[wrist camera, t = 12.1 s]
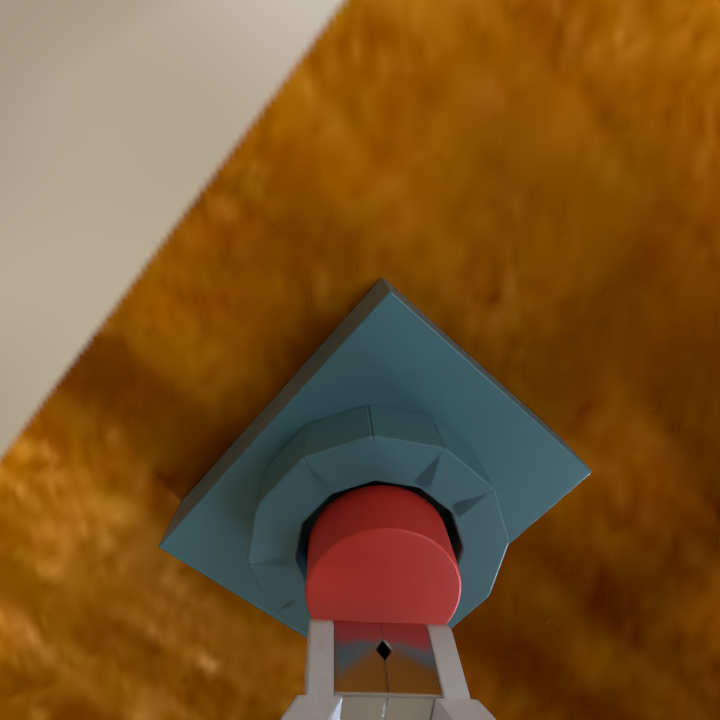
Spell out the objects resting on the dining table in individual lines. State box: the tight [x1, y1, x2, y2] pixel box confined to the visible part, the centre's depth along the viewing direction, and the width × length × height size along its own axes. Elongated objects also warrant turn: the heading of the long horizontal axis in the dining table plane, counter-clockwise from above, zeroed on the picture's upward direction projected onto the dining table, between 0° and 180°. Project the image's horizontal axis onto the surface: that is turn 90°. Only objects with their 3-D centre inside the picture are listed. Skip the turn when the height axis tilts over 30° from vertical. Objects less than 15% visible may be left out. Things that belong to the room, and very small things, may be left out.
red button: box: [305, 485, 462, 625], centre depth 12 cm, size 4×4×2 cm
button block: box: [159, 277, 592, 638], centre depth 14 cm, size 10×8×4 cm
